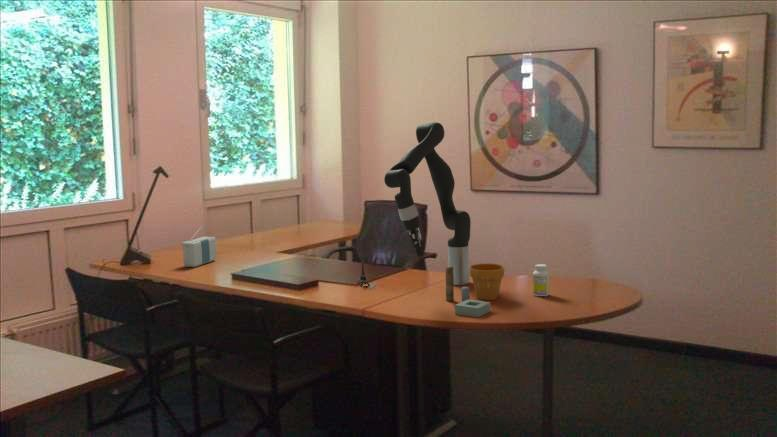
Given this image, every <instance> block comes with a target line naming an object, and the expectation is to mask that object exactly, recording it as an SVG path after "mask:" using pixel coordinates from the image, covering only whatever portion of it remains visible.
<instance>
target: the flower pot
mask: <svg viewBox="0 0 777 437" xmlns="http://www.w3.org/2000/svg"><path fill="white" fill-rule="evenodd" d="M469 277H470V278H472V283H473V287H474V292H475V297H476V299H479V300H482V301H483V300H484V301H489V300H490V299H492V300H496V299H498V296H499V293H500V289H501V288H500V287H501V283H502V280H503V278H504V277H505V266H504V265H501V264H499V263H476V264H472V265H469Z"/></svg>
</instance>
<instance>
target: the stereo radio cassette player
mask: <svg viewBox="0 0 777 437" xmlns="http://www.w3.org/2000/svg"><path fill="white" fill-rule="evenodd" d="M202 226H204V224H202ZM201 229H202V227H199V229H198V230H197V231H196V232H195V233H194V234H193V236H192V237H191V238H190V239H189V240H187V241H183V242H181V247H182V257H183V266H184V267H185V268H187V267H188V268H193V267H194V268H195V267H199V266H201V265H204V264H208V263H210V262H214V261H215V260H216V259H217V258H218V256H217V255H218V252H217V251H218V250H217V239H216V237H215V236H201V237H197V238H194V237H195V236H196V234H198V232H199V231H200V230H201Z"/></svg>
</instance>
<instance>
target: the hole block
mask: <svg viewBox="0 0 777 437" xmlns="http://www.w3.org/2000/svg"><path fill="white" fill-rule="evenodd" d="M489 312H491V302H490V301H483V300H477V299H476V300H474V299H470V300H469V299H467V300H465V301H463V302H462V301H461V302H459V303H456V304H455V305H454V313H455V315H459V316H460V315H461V316H469V317H475V318H480V317H482V316H484V315H485V314H487V313H489Z"/></svg>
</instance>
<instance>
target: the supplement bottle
mask: <svg viewBox="0 0 777 437" xmlns="http://www.w3.org/2000/svg"><path fill="white" fill-rule="evenodd" d="M534 266H535V267H534V269H535V270H534V271H533V272H532V295H533V296H534V295H535V297H538V296H545V297H547V296H550V272H549V271H548V270H547V268H548V267H547V266H548V265H547V264H544V263H543V264H542V263H541V264H540V263H538V264H535V265H534Z"/></svg>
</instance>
